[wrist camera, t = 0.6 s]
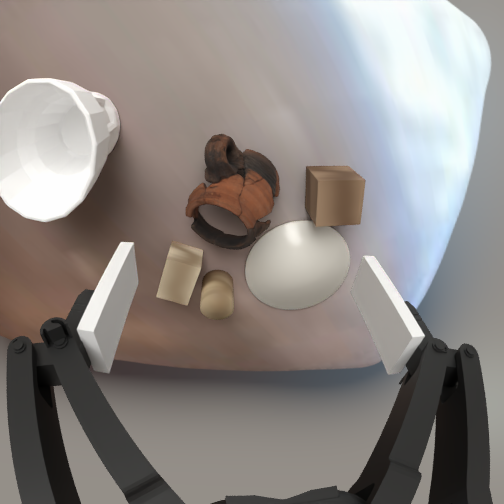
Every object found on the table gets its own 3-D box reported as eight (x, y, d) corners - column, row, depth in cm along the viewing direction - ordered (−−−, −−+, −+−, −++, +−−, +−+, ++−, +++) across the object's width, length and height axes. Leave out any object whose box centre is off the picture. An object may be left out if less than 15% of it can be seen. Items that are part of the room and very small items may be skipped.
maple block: (161, 277, 39) (156, 296, 35) (172, 240, 36) (166, 258, 32) (190, 285, 40) (187, 305, 36) (203, 249, 37) (201, 268, 33)
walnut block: (304, 207, 35) (315, 226, 30) (306, 166, 32) (318, 180, 28) (344, 205, 35) (360, 224, 31) (348, 165, 32) (365, 180, 28)
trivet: (235, 302, 42) (235, 304, 41) (258, 210, 34) (259, 212, 34) (327, 311, 44) (328, 313, 44) (364, 231, 37) (365, 232, 36)
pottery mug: (293, 202, 35) (275, 258, 30) (222, 203, 39) (197, 253, 34) (265, 110, 26) (236, 158, 22) (184, 124, 30) (144, 170, 25)
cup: (118, 193, 32) (80, 242, 23) (35, 162, 28) (-19, 198, 19) (155, 91, 26) (118, 97, 17) (60, 64, 23) (-1, 68, 13)
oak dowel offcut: (200, 291, 40) (198, 317, 36) (204, 267, 38) (202, 293, 34) (230, 295, 41) (230, 321, 37) (235, 272, 39) (236, 297, 35)
